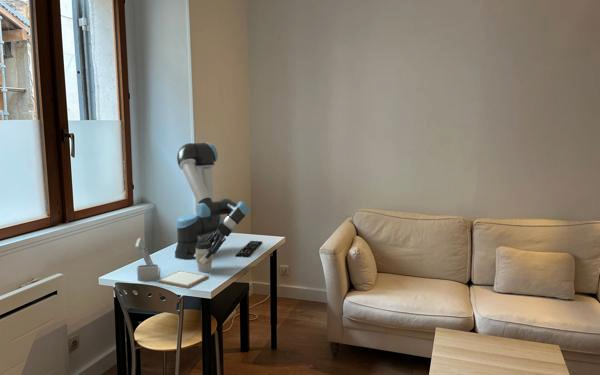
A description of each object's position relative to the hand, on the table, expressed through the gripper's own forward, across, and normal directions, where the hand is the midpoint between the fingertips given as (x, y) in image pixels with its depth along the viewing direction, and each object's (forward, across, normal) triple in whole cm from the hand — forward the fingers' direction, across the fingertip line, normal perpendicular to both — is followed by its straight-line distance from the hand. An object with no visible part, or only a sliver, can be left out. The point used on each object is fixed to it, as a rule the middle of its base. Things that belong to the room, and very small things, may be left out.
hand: (198, 260), depth 233 cm
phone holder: (+21, +7, +12) cm, 25 cm away
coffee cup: (+2, 0, -6) cm, 7 cm away
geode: (-13, +61, -22) cm, 67 cm away
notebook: (+12, -10, +4) cm, 16 cm away
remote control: (-23, +24, -32) cm, 46 cm away
